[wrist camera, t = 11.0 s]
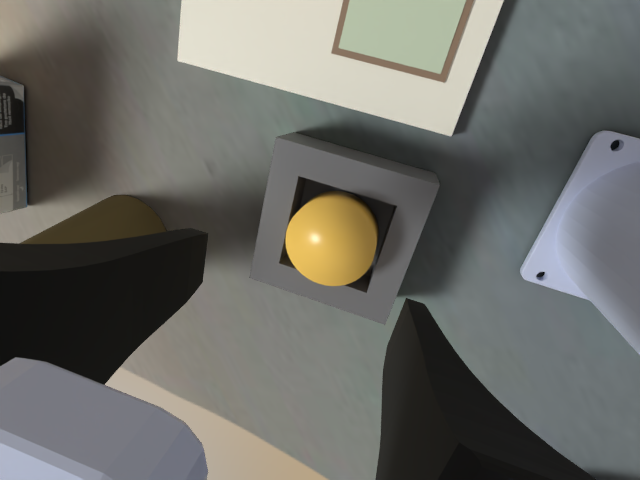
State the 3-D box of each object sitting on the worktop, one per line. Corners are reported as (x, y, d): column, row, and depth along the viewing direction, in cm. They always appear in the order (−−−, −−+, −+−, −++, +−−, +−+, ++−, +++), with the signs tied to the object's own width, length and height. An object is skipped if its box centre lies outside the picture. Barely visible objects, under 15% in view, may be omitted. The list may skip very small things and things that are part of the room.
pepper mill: (87, 188, 24) (-135, 248, 14) (166, 201, 23) (-16, 276, 13) (100, 267, 27) (-85, 366, 17) (172, 282, 26) (21, 398, 16)
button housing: (435, 173, 19) (440, 185, 16) (388, 297, 22) (385, 324, 19) (294, 132, 20) (275, 137, 17) (268, 256, 23) (249, 277, 20)
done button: (389, 205, 18) (387, 217, 16) (364, 279, 20) (360, 297, 18) (307, 180, 18) (296, 188, 17) (289, 254, 20) (277, 269, 18)
